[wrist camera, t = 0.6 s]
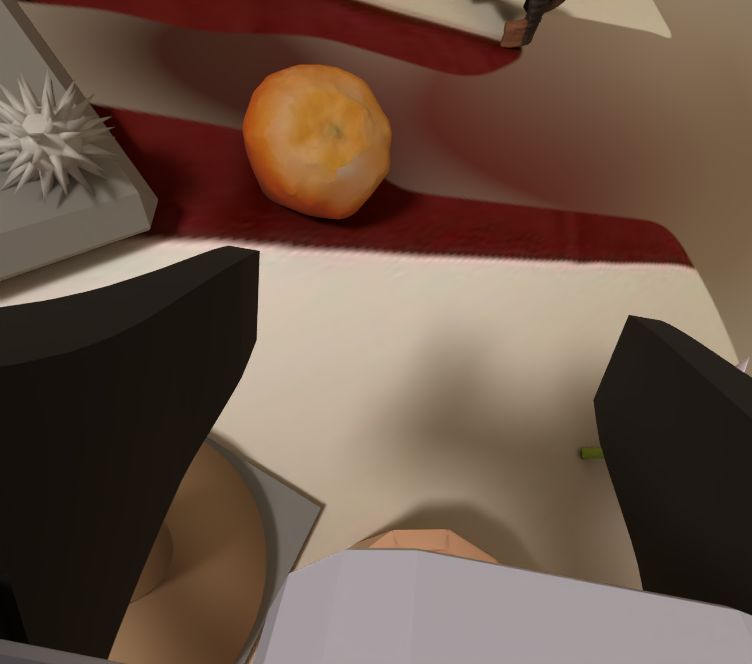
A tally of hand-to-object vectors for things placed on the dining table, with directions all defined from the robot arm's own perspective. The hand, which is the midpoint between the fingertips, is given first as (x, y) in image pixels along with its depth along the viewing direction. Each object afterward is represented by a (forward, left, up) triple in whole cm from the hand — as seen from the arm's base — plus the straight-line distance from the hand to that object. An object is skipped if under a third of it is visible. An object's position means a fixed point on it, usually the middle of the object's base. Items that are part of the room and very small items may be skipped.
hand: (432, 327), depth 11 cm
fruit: (+18, +6, -17) cm, 25 cm away
